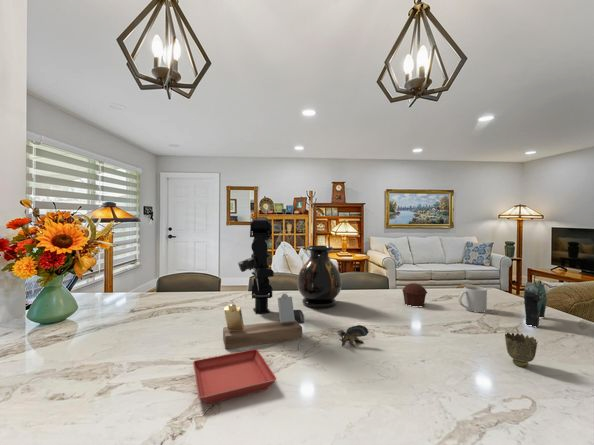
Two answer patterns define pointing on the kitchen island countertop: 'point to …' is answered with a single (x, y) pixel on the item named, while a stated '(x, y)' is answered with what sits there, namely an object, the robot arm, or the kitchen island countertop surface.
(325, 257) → the amphora vase
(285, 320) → the slate lever
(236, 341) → the walnut panel
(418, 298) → the muffin
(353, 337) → the eagle figurine
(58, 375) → the kitchen island countertop surface
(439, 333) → the kitchen island countertop surface
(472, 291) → the mug
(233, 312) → the brass lever
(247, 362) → the plant saucer
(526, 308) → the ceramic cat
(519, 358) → the cup
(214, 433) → the kitchen island countertop surface
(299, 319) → the phone
